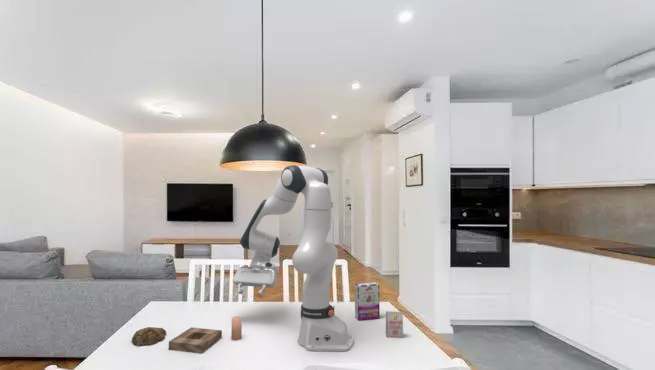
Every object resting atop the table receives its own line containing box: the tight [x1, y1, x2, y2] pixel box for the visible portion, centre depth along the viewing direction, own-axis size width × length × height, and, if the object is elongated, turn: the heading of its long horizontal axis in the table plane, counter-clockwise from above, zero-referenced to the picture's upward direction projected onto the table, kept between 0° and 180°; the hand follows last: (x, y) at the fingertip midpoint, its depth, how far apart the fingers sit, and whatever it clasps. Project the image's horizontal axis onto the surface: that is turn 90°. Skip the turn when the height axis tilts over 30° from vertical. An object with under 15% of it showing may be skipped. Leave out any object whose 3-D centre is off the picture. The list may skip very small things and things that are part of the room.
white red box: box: [385, 310, 404, 339], centre depth 140 cm, size 4×7×10 cm, turn 86°
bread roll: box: [131, 326, 167, 347], centre depth 135 cm, size 13×12×5 cm
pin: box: [230, 316, 243, 341], centre depth 136 cm, size 4×4×8 cm
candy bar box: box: [354, 281, 381, 322], centre depth 161 cm, size 11×5×16 cm, turn 106°
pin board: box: [168, 326, 223, 354], centre depth 131 cm, size 14×14×3 cm
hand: (249, 294), depth 149 cm, fingers open, 8 cm apart
